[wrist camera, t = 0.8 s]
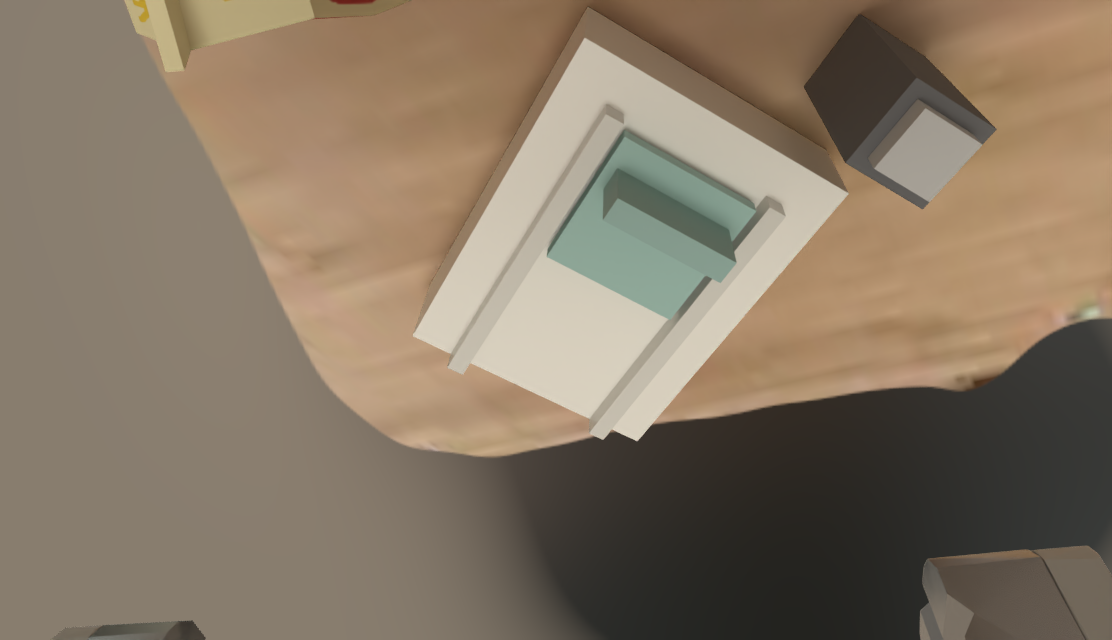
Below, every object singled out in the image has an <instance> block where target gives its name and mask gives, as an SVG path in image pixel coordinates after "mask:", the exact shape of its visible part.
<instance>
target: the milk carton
mask: <svg viewBox="0 0 1112 640" xmlns="http://www.w3.org/2000/svg"><path fill="white" fill-rule="evenodd" d="M409 1H411V0H125V3H126V5H127V8H128V11H129V13H130V16H131V19H132V22H133V24H134V27H135V30H136V32H137V33H138V34H141V35H143V36H146V37H149V38H151V39H154V40H156V41H157V44H158V47H159V51H160V54H161V58H162V61H163V65H164V68H165V72H173V71H184V70H185V67H186V64H187V61H188V58H189V55H190V52H191V50H195V49H198V48H202V47H206V46H210V45H214V44H218V43H221V42H225V41H229V40H233V39H237V38H241V37H244V36H248V35H252V34H256V33H260V32H264V31H268V30H271V29H275V28H279V27H283V26H287V25H291V24H294V23H298V22H302V21H306V20H310V19H323V18H340V17H357V16H373V15H377V14H379V13H381V12H384V11H386V10H389V9H391V8H394V7H396V6H399V5H401V4H404V3H406V2H409Z"/></svg>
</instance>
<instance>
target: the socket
mask: <svg viewBox="0 0 1112 640" xmlns="http://www.w3.org/2000/svg"><path fill="white" fill-rule="evenodd" d="M624 130H626V131H628V132H629V133H631V134H633V135H635V136H636V137H638V138H640V139H642V140H643V141H645V142H647V143H649V144H650V145H652V146H654V147H656V148H658V149H659V150H661V151H663V152H665V153H666V154H668V155H670V156H672V157H673V158H675V159H677V160H679V161H680V162H682V163H684V164H686V165H687V166H689V167H691V168H693V169H694V170H696V171H698V172H700V173H701V174H703V175H705V176H707V177H709V178H710V179H712V180H714V181H716V182H717V183H719V184H721V185H723V186H724V187H726V188H728V189H730V190H731V191H733V192H735V193H737V194H738V195H740V196H742V197H744V198H745V199H747V200H749V201H751V202H753V203H754V205H755V208H756V213H755V214H754V215H753V216H752V218H751V219H750V220H749V221H748V223H747V224H746V225H745V226H744V228H743V229H742V230H741V231H740V233H739V234H738V235H737V236H736V238H735V239H734V240H733V242H732V245H733V249H734V253H735V258H736V262H737V263H736V265H735V266H734V267H733V268H732V270H731V271H730V272H729V273H728V274H727V276H726V277H725V278H724V279H723V281H722V282H721V283H719V282H717V281H715V280H713V279H711V278H710V277H708V276H705V277H704V278H703V279H702V281H701V282H700V283H699V284H698V286H697V287H696V288H695V289H694V291H693V292H692V293H691V294H690V296H689V297H688V298H687V300H686V301H685V302H684V303H683V305H682V306H681V307H680V308H679V310H678V311H677V312H676V313H675V315H674V316H673V317H672V318H671V320H669V319H667V318H665V317H663V316H661V315H659V314H657V313H655V312H653V311H651V310H649V309H647V308H645V307H643V306H642V305H640V304H638V303H636V302H634V301H632V300H630V299H628V298H626V297H624V296H622V295H620V294H618V293H616V292H614V291H612V290H610V289H608V288H606V287H605V286H603V285H601V284H599V283H597V282H595V281H593V280H591V279H589V278H587V277H585V276H583V275H581V274H579V273H577V272H575V271H573V270H571V269H569V268H568V267H566V266H564V265H562V264H560V263H558V262H556V261H554V260H552V259H550V258H548V257H547V250H548V247H549V246H550V244H551V243H552V241H553V239H554V238H555V236H556V235H557V233H558V232H559V230H560V229H561V227H562V226H563V224H564V222H565V221H566V219H567V218H568V216H569V215H570V213H571V212H572V210H573V209H574V207H575V205H576V204H577V202H578V201H579V199H580V198H581V196H582V195H583V193H584V192H585V190H586V188H587V187H588V185H589V184H590V182H591V181H592V179H593V178H594V176H595V175H596V173H597V171H598V170H599V168H600V167H601V165H602V164H603V162H604V161H605V159H606V157H607V156H608V154H609V153H610V151H611V150H612V148H613V147H614V145H615V144H616V142H617V140H618V139H619V137H620V136H621V134H622V133H623V131H624ZM848 194H849V193H848V191H847V189H846V187H845V185H844V183H843V181H842V179H841V178H840V176H839V174H838V172H837V170H836V168H835V166H834V164H833V162H832V160H831V158H830V156H829V154H828V152H827V150H826V149H824V148H822V147H821V146H819V145H817V144H816V143H814V142H812V141H811V140H809V139H807V138H806V137H804V136H802V135H801V134H799V133H797V132H796V131H794V130H792V129H791V128H789V127H787V126H786V125H784V124H782V123H781V122H779V121H777V120H776V119H774V118H772V117H771V116H769V115H767V114H766V113H764V112H762V111H761V110H759V109H757V108H756V107H754V106H752V105H751V104H749V103H747V102H746V101H744V100H742V99H741V98H739V97H737V96H736V95H734V94H732V93H731V92H729V91H727V90H726V89H724V88H722V87H721V86H719V85H717V84H716V83H714V82H713V81H711V80H709V79H708V78H706V77H704V76H703V75H701V74H699V73H698V72H696V71H694V70H693V69H691V68H689V67H688V66H686V65H684V64H683V63H681V62H679V61H678V60H676V59H674V58H673V57H671V56H669V55H668V54H666V53H664V52H663V51H661V50H659V49H658V48H656V47H654V46H653V45H651V44H649V43H648V42H646V41H644V40H643V39H641V38H639V37H638V36H636V35H634V34H633V33H631V32H629V31H628V30H626V29H624V28H623V27H621V26H619V25H618V24H616V23H614V22H613V21H611V20H609V19H608V18H606V17H604V16H603V15H601V14H599V13H598V12H596V11H594V10H593V9H591V8H589V7H587V9H586V11H585V12H584V14H583V16H582V18H581V19H580V21H579V23H578V25H577V26H576V28H575V30H574V32H573V34H572V35H571V37H570V39H569V41H568V42H567V44H566V46H565V48H564V49H563V51H562V53H561V55H560V56H559V58H558V60H557V62H556V64H555V65H554V67H553V69H552V71H551V72H550V74H549V76H548V78H547V79H546V81H545V83H544V85H543V86H542V88H541V90H540V92H539V93H538V95H537V97H536V99H535V101H534V102H533V104H532V106H531V108H530V109H529V111H528V113H527V115H526V116H525V118H524V120H523V122H522V123H521V125H520V127H519V129H518V131H517V132H516V134H515V136H514V138H513V139H512V141H511V143H510V145H509V146H508V148H507V150H506V152H505V153H504V155H503V157H502V159H501V160H500V162H499V164H498V166H497V168H496V169H495V171H494V173H493V175H492V176H491V178H490V180H489V182H488V183H487V185H486V187H485V189H484V190H483V192H482V194H481V196H480V198H479V199H478V201H477V203H476V205H475V206H474V208H473V210H472V212H471V213H470V215H469V217H468V219H467V220H466V222H465V224H464V226H463V227H462V229H461V231H460V233H459V235H458V236H457V238H456V240H455V242H454V243H453V245H452V247H451V249H450V250H449V252H448V254H447V256H446V257H445V259H444V261H443V263H442V265H441V266H440V268H439V270H438V272H437V273H436V275H435V277H434V279H433V280H432V282H431V284H430V286H429V289H428V292H427V295H426V298H425V301H424V303H423V306H422V309H421V312H420V315H419V318H418V321H417V324H416V327H415V330H414V333H413V336H414V337H416V338H418V339H420V340H422V341H424V342H426V343H429V344H431V345H433V346H435V347H437V348H439V349H441V350H444V351H446V352H448V353H450V354H451V355H450V359H449V363H448V367H447V368H449V369H451V370H453V371H456V372H458V373H460V374H462V375H463V373H464V372H465V370H466V369H467V367H468V366H469V364H470V363H471V364H473V365H476V366H478V367H480V368H482V369H484V370H486V371H488V372H491V373H493V374H495V375H497V376H499V377H501V378H503V379H506V380H508V381H510V382H512V383H514V384H516V385H518V386H520V387H523V388H525V389H527V390H529V391H531V392H533V393H535V394H538V395H540V396H542V397H544V398H546V399H548V400H550V401H553V402H555V403H557V404H559V405H561V406H563V407H565V408H567V409H570V410H572V411H574V412H576V413H578V414H580V415H582V416H585V417H587V418H589V434H592V435H594V436H596V437H598V438H600V439H602V440H603V439H604V438H605V437H606V436H607V434H608V433H609V432H610V431H611V429H612V430H614V431H617V432H619V433H621V434H623V435H625V436H627V437H629V438H632V439H634V440H636V441H638V440H639V438H640V437H641V436H642V435H643V434H644V433H645V432H646V430H647V429H648V428H649V427H650V426H651V424H652V423H653V422H654V421H655V420H656V419H657V417H658V416H659V415H660V414H661V413H662V412H663V410H664V409H665V408H666V407H667V406H668V405H669V403H670V402H671V401H672V400H673V399H674V398H675V396H676V395H677V394H678V393H679V392H680V391H681V389H682V388H683V387H684V386H685V385H686V384H687V382H688V381H689V380H690V379H691V378H692V376H693V375H694V374H695V373H696V372H697V371H698V369H699V368H700V367H701V366H702V365H703V364H704V362H705V361H706V360H707V359H708V358H709V357H710V355H711V354H712V353H713V352H714V351H715V350H716V348H717V347H718V346H719V345H720V344H721V343H722V341H723V340H724V339H725V338H726V337H727V336H728V334H729V333H730V332H731V331H732V330H733V328H734V327H735V326H736V325H737V324H738V323H739V321H740V320H741V319H742V318H743V317H744V316H745V314H746V313H747V312H748V311H749V310H750V309H751V307H752V306H753V305H754V304H755V303H756V302H757V300H758V299H759V298H760V297H761V296H762V295H763V293H764V292H765V291H766V290H767V289H768V287H769V286H770V285H771V284H772V283H773V282H774V280H775V279H776V278H777V277H778V276H779V275H780V273H781V272H782V271H783V270H784V269H785V268H786V266H787V265H788V264H789V263H790V262H791V261H792V259H793V258H794V257H795V256H796V255H797V254H798V252H799V251H800V250H801V249H802V248H803V247H804V245H805V244H806V243H807V242H808V241H809V239H810V238H811V237H812V236H813V235H814V234H815V232H816V231H817V230H818V229H819V228H820V227H821V225H822V224H823V223H824V222H825V221H826V220H827V218H828V217H829V216H830V215H831V214H832V213H833V211H834V210H835V209H836V208H837V207H838V206H839V204H840V203H841V202H842V201H843V200H844V199H845V197H846V196H847V195H848Z"/></svg>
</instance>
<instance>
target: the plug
mask: <svg viewBox="0 0 1112 640" xmlns="http://www.w3.org/2000/svg"><path fill="white" fill-rule="evenodd" d="M804 88H805V90H806V92H807V94H808V95H809V97H810V99H811V101H812V103H813V105H814V106H815V108H816V110H817V112H818V114H819V115H820V117H821V119H822V121H823V123H824V125H825V126H826V128H827V130H828V132H829V134H830V136H831V137H832V139H833V141H834V143H835V145H836V146H837V148H838V150H839V152H840V154H841V156H842V157H843V159H844V161H845V163H846V164H848V165H850V166H851V167H853V168H855V169H856V170H858V171H860V172H861V173H863V174H865V175H866V176H868V177H870V178H871V179H873V180H875V181H876V182H878V183H880V184H881V185H883V186H885V187H886V188H888V189H890V190H891V191H893V192H895V193H896V194H898V195H900V196H901V197H903V198H905V199H906V200H908V201H910V202H911V203H913V204H915V205H916V206H918V207H920V208H921V209H924V207H925V206H926V205H927V204H928V203H929V202H930V201H931V200H932V199H933V198H934V197H935V196H936V195H937V194H938V192H939V191H940V190H941V189H942V188H943V187H944V186H945V185H946V184H947V183H948V182H949V181H950V179H951V178H952V177H953V176H954V175H955V174H956V173H957V172H958V171H959V170H960V169H961V168H962V166H963V165H964V164H965V163H966V162H967V161H968V160H969V159H970V158H971V157H972V156H973V155H974V153H975V152H976V151H977V150H978V149H979V148H980V147H981V146H982V145H983V144H984V142H985V141H986V140H987V139H988V138H989V137H990V136H991V135H992V134H993V133H994V132H995V131H996V128H995V127H994V126H993V125H992V124H991V123H990V122H989V121H988V120H987V119H986V118H985V117H984V116H983V115H982V114H981V113H980V112H979V111H978V110H977V109H976V108H975V107H974V106H973V105H972V104H971V103H970V102H969V101H968V100H967V99H966V98H965V97H964V96H963V95H962V94H961V93H960V92H959V90H958V89H957V88H956V87H955V86H954V85H953V84H952V83H951V82H950V81H949V80H948V79H947V78H946V77H945V76H944V75H943V74H942V73H941V72H940V71H939V70H938V69H937V68H936V67H935V66H934V65H933V64H932V63H931V62H930V61H929V60H928V59H927V58H926V57H925V56H923V55H922V54H920V53H919V52H917V51H916V50H914V49H912V48H911V47H909V46H908V45H906V44H905V43H903V42H902V41H900V40H899V39H897V38H896V37H894V36H893V35H891V34H890V33H888V32H887V31H885V30H884V29H882V28H881V27H879V26H877V25H876V24H874V23H873V22H871V21H870V20H868V19H867V18H865V17H864V16H862V15H861V14H858V16H857V17H856V18H855V20H854V21H853V22H852V24H851V25H850V26H849V28H848V29H847V30H846V32H845V33H844V34H843V36H842V37H841V38H840V40H839V41H838V42H837V44H836V45H835V46H834V48H833V49H832V50H831V52H830V53H829V54H828V55H827V57H826V58H825V59H824V61H823V62H822V63H821V65H820V66H819V67H818V69H817V70H816V71H815V73H814V74H813V75H812V77H811V78H810V79H809V81H808V82H807V83H806V85H805V86H804Z"/></svg>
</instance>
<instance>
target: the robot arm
mask: <svg viewBox="0 0 1112 640" xmlns="http://www.w3.org/2000/svg"><path fill="white" fill-rule="evenodd" d="M922 583H923V586H924V589H925V591H926V594H927V597H928V600H929V603H928V604H927V605H926V606H925V607H924V608H923V609H922V610H921V611H920V638H921V640H1112V575H1111V574H1110V572H1109V570H1108V569H1107V567H1106V566H1105V564H1104V562H1103V561H1102V559H1101V558H1100V556H1099V554H1098V553H1096V552H1095V551H1094V550H1092V549H1091V548H1090V547H1089V546H1076V547H1066V548H1054V549H1042V550H1033V551H1029V550H1016V551H1005V552H995V553H985V554H974V555H963V556H953V557H944V558H932V559H927V561H926V563H925V565H924V570H923V581H922ZM205 639H206V638H205V637H204V635H203V634H202V633H201V631H200V630H199V628H198V627H197V626H196V624H195V623H194V622H193V621H175V622H155V623H136V624H117V625H99V626H85V627H72V628H65V629H64V630H62V631H61V632H60V633H58V634H57V635H56V636H54V637H53V638H52V639H51V640H205Z"/></svg>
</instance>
